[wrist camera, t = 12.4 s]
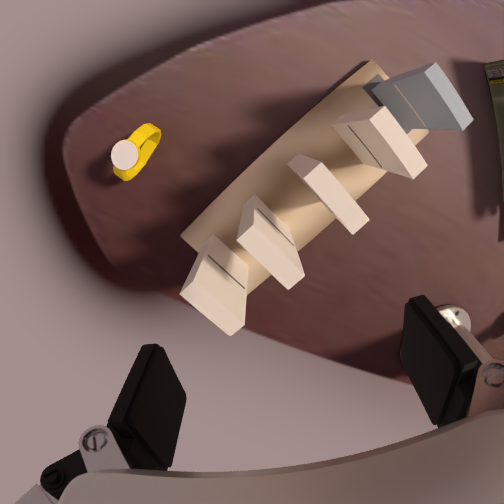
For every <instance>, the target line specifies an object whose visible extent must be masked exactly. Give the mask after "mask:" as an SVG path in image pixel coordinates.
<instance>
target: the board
mask: <svg viewBox="0 0 504 504" xmlns="http://www.w3.org/2000/svg"><path fill="white" fill-rule="evenodd" d="M387 79H389V78H388V77H387V75H386V74H385V73H384V72H383V71H382V69H381V68H380V67H379V66H378V65H377V64H376V63H375V61H374V60H373V59H372V60H370V61H369V62H368V63H366V64H365V65H364V66H363V67H361V68H360V69H359V70H358V71H356V72H355V73H354V74H353V75H351V76H350V77H349V78H348V79H347V80H345V81H344V82H343V83H342V84H341V85H339V86H338V87H337V88H336V89H335V90H333V91H332V92H331V93H330V94H329V95H327V96H326V97H325V98H324V99H323V100H322V101H320V102H319V103H318V104H317V105H316V106H315V107H313V108H312V109H311V110H310V111H309V112H308V113H307V114H305V115H304V116H303V117H302V118H301V119H300V120H299V121H297V122H296V123H295V124H294V125H293V126H292V127H291V128H290V129H289V130H287V131H286V132H285V133H284V134H283V135H282V136H281V137H280V138H279V139H278V140H276V141H275V142H274V143H273V144H272V145H271V146H270V147H269V148H268V149H267V150H266V151H265V152H263V153H262V154H261V155H260V156H259V157H258V158H257V159H256V160H255V161H254V162H253V163H252V164H251V165H250V166H249V167H248V168H247V169H246V170H244V171H243V172H242V173H241V174H240V175H239V176H238V177H237V178H236V179H235V180H234V181H233V182H232V183H231V184H230V185H229V186H228V187H227V188H226V189H225V190H224V191H223V192H222V193H221V194H220V195H219V196H218V197H217V198H216V199H215V200H214V201H213V202H212V203H211V204H210V205H209V206H208V207H207V208H206V209H205V210H204V211H203V212H202V213H201V214H200V215H199V216H198V217H197V218H196V219H195V220H194V221H193V222H192V223H191V224H190V225H189V226H188V228H187V229H186V230H185V231H184V232H183V233H182V234H181V235H180V236H181V237H182V238H183V239H184V240H185V241H186V242H187V243H188V244H189V245H190V246H191V247H192V248H194V249H195V250H196V251H197V252H198V253H199V252H200V250H201V248H202V246H203V244H204V243H205V242H206V241H207V240H208V239H209V238H210V237H211V236H212V235H213V234H215V235H216V236H217V237H218V238H219V239H220V240H221V241H222V242H223V243H224V244H225V245H226V246H227V247H228V248H229V249H230V250H232V251H233V252H234V253H235V254H236V255H237V256H238V257H239V258H240V259H241V260H242V261H243V262H244V263H245V264H246V265H247V266H248V267H249V268H248V282H247V295H248V294H249V293H250V292H251V291H253V290H254V289H255V288H256V287H257V286H258V285H260V284H261V283H262V282H263V281H264V280H265V279H267V278H268V277H269V276H270V275H271V273H270V272H269V271H268V270H267V269H266V268H265V267H264V266H263V265H261V264H260V263H259V262H258V261H257V260H256V259H255V258H254V257H253V256H252V255H251V254H250V253H249V252H248V251H247V250H246V249H245V248H244V247H243V246H242V245H241V244H240V243H239V242H237V241H236V239H237V234H238V229H239V225H240V220H241V215H242V210H243V205H244V204H245V203H246V202H247V201H248V200H249V199H250V198H251V197H252V196H253V195H254V194H255V195H256V196H257V197H258V198H259V199H260V200H261V201H262V202H263V203H264V204H265V205H266V206H267V207H268V208H269V209H270V210H271V211H272V212H273V213H274V214H275V215H276V216H277V217H278V218H279V219H280V220H281V221H282V222H283V223H284V224H285V225H286V226H287V227H288V228H289V229H290V232H291V235H292V238H293V241H294V244H295V247H296V250H297V252H298V251H299V250H300V249H301V248H303V247H304V246H305V245H306V244H307V243H308V242H309V241H311V240H312V239H313V238H314V237H315V236H316V235H317V234H319V233H320V232H321V231H322V230H323V229H324V228H325V227H327V226H328V225H329V224H330V223H331V222H332V221H333V220H334V219H336V216H335V215H334V214H333V213H331V212H330V211H329V209H328V208H327V207H326V206H325V205H324V204H323V203H322V202H321V201H320V200H319V198H318V197H317V196H316V195H315V194H314V193H313V192H312V191H311V189H310V188H309V187H308V186H307V185H306V184H305V183H304V182H303V181H302V180H301V179H300V177H299V176H298V175H297V174H296V173H295V172H294V171H293V170H292V169H291V168H290V167H289V166H288V165H287V164H288V163H289V162H290V161H291V160H292V159H293V158H294V157H295V156H297V155H298V154H302V155H304V156H307V157H310V158H312V159H315V160H318V161H320V162H322V163H323V164H324V165H325V166H326V168H327V169H328V170H329V171H330V172H331V173H332V174H333V176H334V177H335V178H336V179H337V180H338V181H339V183H340V184H341V185H342V186H343V187H344V189H345V190H346V191H347V192H348V193H349V195H350V196H351V197H352V198H353V199H354V201H356V200H357V199H358V198H359V197H360V196H361V195H362V194H363V193H364V192H365V191H367V190H368V189H369V188H370V187H371V186H372V185H373V184H374V183H375V182H376V181H378V180H379V179H380V178H381V177H382V176H383V175H384V174H385V173H386V172H387V171H386V170H383V169H379V168H376V167H373V166H369V165H366V164H363V163H362V162H361V160H360V159H359V158H358V157H357V156H356V154H355V153H354V152H353V151H352V149H351V148H350V147H349V146H348V145H347V144H346V142H345V141H344V140H343V139H342V138H341V137H340V135H339V134H338V133H337V132H336V131H335V130H334V129H333V127H332V126H331V124H332V123H334V122H335V121H336V120H337V119H338V118H339V117H340V116H342V115H345V114H350V113H354V112H358V111H362V110H367V109H372V108H376V107H381V106H384V105H383V104H382V103H381V101H380V100H379V99H378V98H377V97H376V95H375V94H374V93H373V92H372V91H371V90H372V89H373V88H374V87H376V86H377V85H378V84H379V83H380V82H382V81H385V80H387ZM403 130H404V131H405V133H406V134H407V136H408V137H409V138H410V140H411V141H412V143H413V144H414V146H415V145H416V144H417V143H418V142H419V141H420V140H421V139H422V138H424V137H425V136H426V135H427V134H428V133H429V131H428V130H427V129H403Z"/></svg>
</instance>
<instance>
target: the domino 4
mask: <svg viewBox="0 0 504 504" xmlns="http://www.w3.org/2000/svg"><path fill="white" fill-rule="evenodd" d="M371 91H372V92H373V93H374V94H375V95H376V97H377V98H378V99H379V100H380V101H381V103H382V104H383V105H384V106H386V108H387V109H388V110H389V111H390V113H391V114H392V115H393V117H394V118H395V119H396V121H397V122H398V123H399V125H400V126H401V127H402V129H437V130H459V131H463V130H464V129H465V128H466V127H467V126H468V125H469V124H470V123H471V122H472V121H473V118H472V116H471V114H470V113H469V111H468V109H467V108H466V106H465V104H464V103H463V101H462V99H461V98H460V96H459V95H458V93H457V92H456V90H455V89H454V87H453V86H452V84H451V83H450V81H449V80H448V78H447V77H446V75H445V74H444V72H443V71H442V70H441V68H440V67H439V66H438V64H437V63H436V62H435V63H432V64H429V65H426V66H423V67H420V68H417V69H414V70H411V71H409V72H406V73H403V74H400V75H398V76H395V77H392V78H390V79H387V80H385V81H382V82H380V83H379V84H378V85H377V86H376V87H374V88H373V89H372V90H371Z"/></svg>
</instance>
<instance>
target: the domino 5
mask: <svg viewBox="0 0 504 504" xmlns="http://www.w3.org/2000/svg"><path fill="white" fill-rule="evenodd" d="M331 126H332V127H333V129H334V130H335V131H336V132H337V133H338V134H339V135H340V137H341V138H342V139H343V140H344V141H345V142H346V144H347V145H348V146H349V147H350V148H351V149H352V151H353V152H354V153H355V154H356V156H357V157H358V158H359V159H360V160H361V162H362V163H363V164H366V165H369V166H373V167H376V168H379V169H383V170H386V171H389V172H392V173H396V174H399V175H402V176H405V177H408V178H411V179H414V178H415V177H416V176H417V175H418V174H419V173H420V172H421V171H422V170H424V169H425V168H426V167H427V166H428V165H427V164H426V162H425V161H424V159H423V158H422V156H421V154H420V153H419V152H418V150H417V149H416V147H415V146H414V144H413V143H412V141H411V140H410V138H409V137H408V136H407V134H406V133H405V131H404V130H403V129H402V127H401V126H400V125H399V123H398V122H397V121H396V119H395V118H394V117H393V115H392V114H391V113H390V111H389V110H388V109H387V108H386V106H381V107H376V108H372V109H367V110H362V111H358V112H354V113H350V114H345V115H342V116H340V117H339V118H338V119H337V120H336V121H335V122H334V123H332V124H331Z"/></svg>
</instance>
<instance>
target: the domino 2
mask: <svg viewBox="0 0 504 504" xmlns="http://www.w3.org/2000/svg"><path fill="white" fill-rule="evenodd" d="M236 241H237V242H239V243H240V244H241V245H242V246H243V247H244V248H245V249H246V250H247V251H248V252H249V253H250V254H251V255H252V256H253V257H254V258H255V259H256V260H257V261H258V262H259V263H260V264H261V265H263V266H264V267H265V268H266V269H267V270H268V271H269V272H270V273H271V274H272V275H273V276H274V277H275V278H276V279H277V280H278V281H279V282H280V283H281V284H282V285H283V286H284V287H285V288H287V289H288V290H289V289H290V288H291V287H292V286H294V285H295V284H296V283H297V282H298V281H300V280H301V279H302V278H303V277H304V276H305V274H304V271H303V268H302V265H301V262H300V259H299V256H298V253H297V250H296V247H295V244H294V241H293V238H292V235H291V232H290V229H289V228H288V227H287V226H286V225H285V224H284V223H283V222H282V221H281V220H280V219H279V218H278V217H277V216H276V215H275V214H274V213H273V212H272V211H271V210H270V209H269V208H268V207H267V206H266V205H265V204H264V203H263V202H262V201H261V200H260V199H259V198H258V197H257V196H256V195H255V194H254V195H253V196H252V197H251V198H250V199H249V200H248V201H247V202H246V203H245V204H244V205H243V210H242V215H241V220H240V225H239V229H238V234H237V239H236Z"/></svg>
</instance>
